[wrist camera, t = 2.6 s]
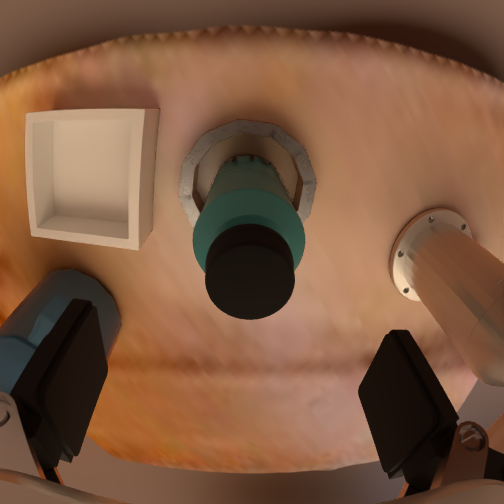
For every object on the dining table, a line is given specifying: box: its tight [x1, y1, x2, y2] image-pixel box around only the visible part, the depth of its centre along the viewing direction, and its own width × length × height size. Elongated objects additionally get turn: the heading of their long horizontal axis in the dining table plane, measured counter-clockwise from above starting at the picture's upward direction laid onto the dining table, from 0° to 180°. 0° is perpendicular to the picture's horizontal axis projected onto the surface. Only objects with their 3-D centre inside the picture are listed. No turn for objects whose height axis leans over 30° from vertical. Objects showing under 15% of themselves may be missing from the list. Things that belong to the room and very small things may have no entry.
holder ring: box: [179, 119, 317, 228], centre depth 30 cm, size 12×12×3 cm
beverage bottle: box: [193, 154, 305, 320], centre depth 22 cm, size 6×7×20 cm
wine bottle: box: [0, 269, 122, 394], centre depth 24 cm, size 14×13×30 cm
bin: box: [25, 108, 160, 250], centre depth 28 cm, size 13×13×5 cm
